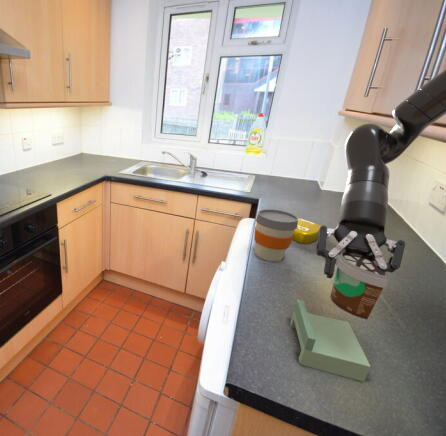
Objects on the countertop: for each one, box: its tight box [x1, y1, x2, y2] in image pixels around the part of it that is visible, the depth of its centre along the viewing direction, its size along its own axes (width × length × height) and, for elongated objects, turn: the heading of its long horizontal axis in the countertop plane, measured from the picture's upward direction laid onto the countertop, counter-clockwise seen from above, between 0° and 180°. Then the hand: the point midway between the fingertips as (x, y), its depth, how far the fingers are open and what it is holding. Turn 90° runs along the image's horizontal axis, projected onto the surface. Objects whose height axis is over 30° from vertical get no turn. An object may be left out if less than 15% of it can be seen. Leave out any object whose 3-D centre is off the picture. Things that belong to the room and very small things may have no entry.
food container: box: [329, 249, 389, 320], centre depth 59 cm, size 12×6×10 cm, turn 157°
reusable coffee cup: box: [253, 208, 299, 263], centre depth 101 cm, size 13×13×15 cm
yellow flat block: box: [292, 217, 323, 245], centre depth 121 cm, size 15×15×5 cm
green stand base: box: [289, 299, 372, 383], centre depth 63 cm, size 11×13×7 cm
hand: (351, 282), depth 57 cm, fingers closed on food container, 6 cm apart
